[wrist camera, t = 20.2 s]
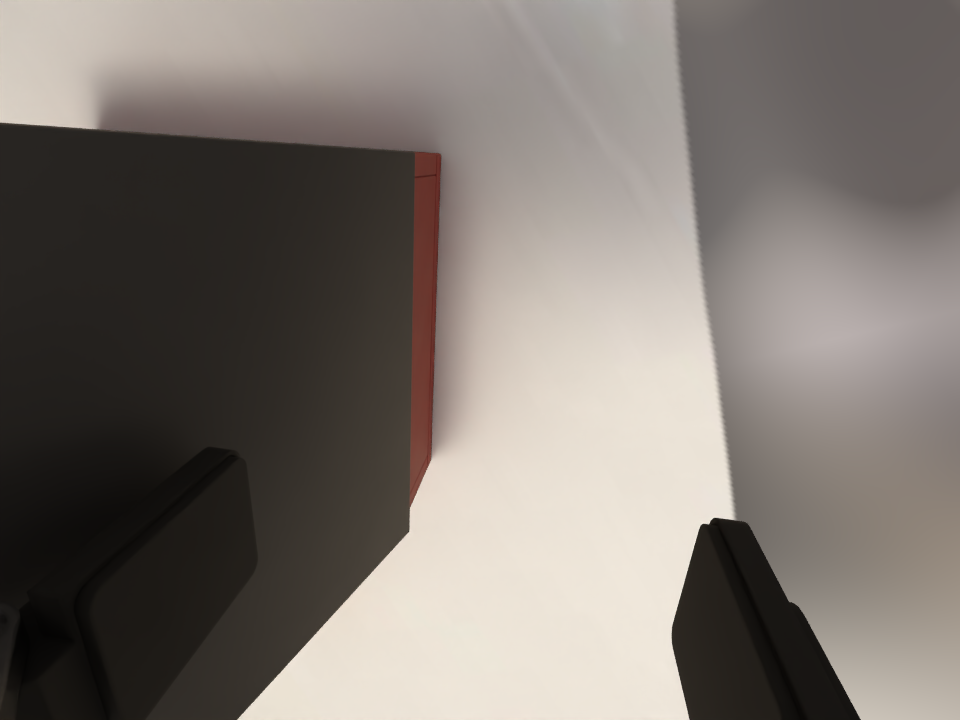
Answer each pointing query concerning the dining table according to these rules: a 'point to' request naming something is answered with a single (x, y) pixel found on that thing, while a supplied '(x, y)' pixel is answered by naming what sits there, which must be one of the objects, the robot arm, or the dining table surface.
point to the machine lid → (207, 364)
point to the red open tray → (424, 311)
